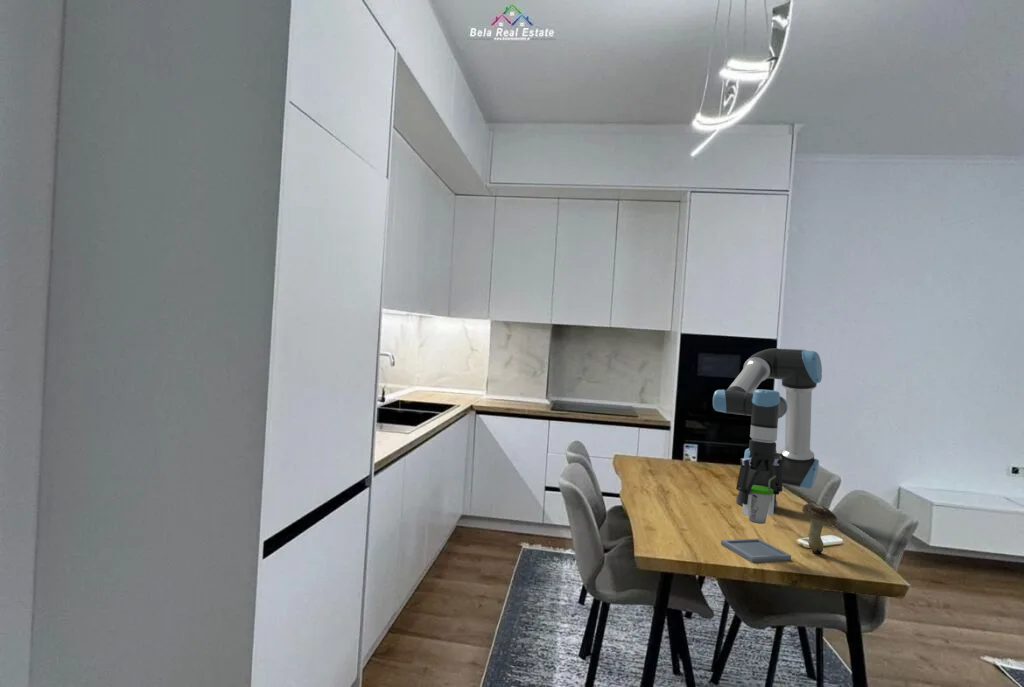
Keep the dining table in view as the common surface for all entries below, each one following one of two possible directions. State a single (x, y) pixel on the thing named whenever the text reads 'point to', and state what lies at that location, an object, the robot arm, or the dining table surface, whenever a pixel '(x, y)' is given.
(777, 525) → the dining table surface
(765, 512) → the cup
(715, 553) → the dining table surface
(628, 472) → the dining table surface
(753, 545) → the tray
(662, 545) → the dining table surface
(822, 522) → the mushroom
